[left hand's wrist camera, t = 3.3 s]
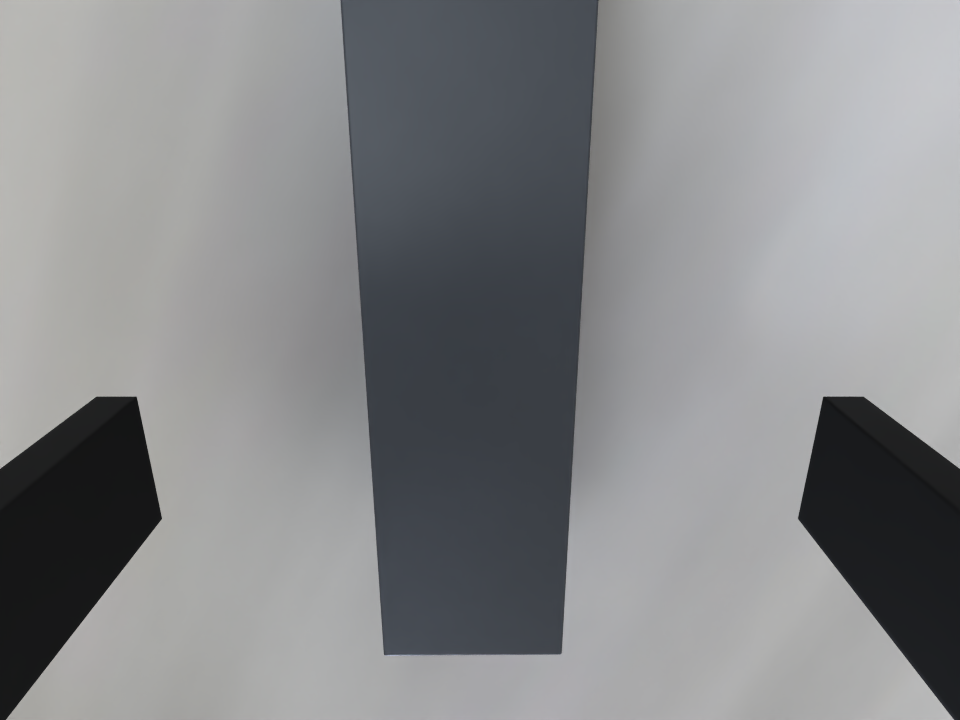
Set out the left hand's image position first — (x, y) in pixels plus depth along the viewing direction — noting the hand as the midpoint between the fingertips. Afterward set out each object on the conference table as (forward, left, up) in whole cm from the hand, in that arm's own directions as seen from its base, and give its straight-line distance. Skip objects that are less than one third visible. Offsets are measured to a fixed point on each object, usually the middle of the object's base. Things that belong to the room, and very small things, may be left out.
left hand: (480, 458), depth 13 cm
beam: (+26, -11, -11) cm, 30 cm away
